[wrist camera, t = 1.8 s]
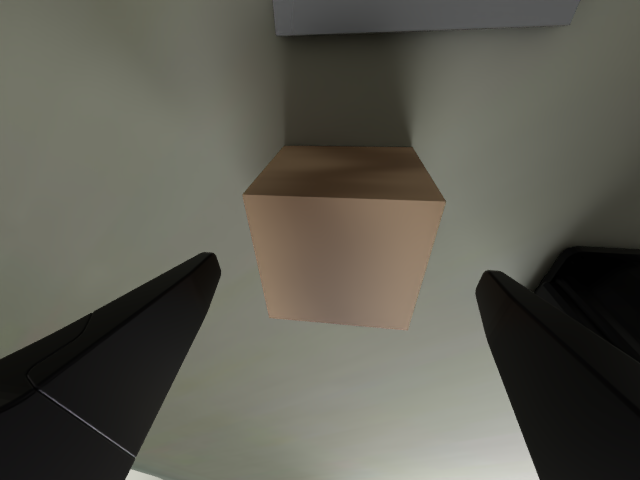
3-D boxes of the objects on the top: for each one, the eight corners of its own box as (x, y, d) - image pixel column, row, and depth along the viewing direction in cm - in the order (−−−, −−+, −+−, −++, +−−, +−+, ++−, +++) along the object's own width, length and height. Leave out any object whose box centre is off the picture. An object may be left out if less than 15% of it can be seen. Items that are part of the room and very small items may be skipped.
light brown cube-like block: (412, 147, 11) (446, 201, 7) (393, 250, 14) (407, 330, 10) (284, 145, 11) (242, 194, 7) (294, 245, 14) (269, 317, 10)
